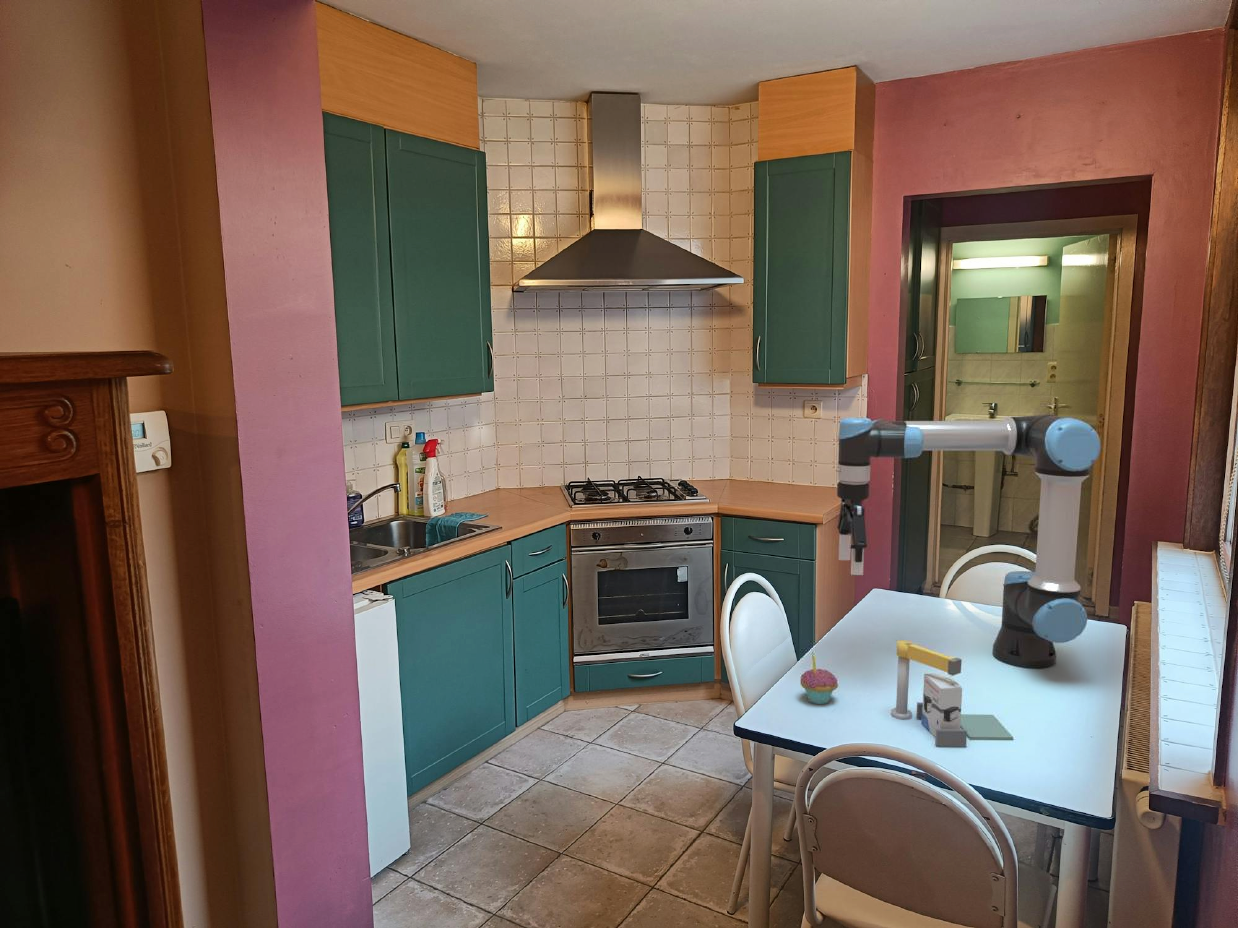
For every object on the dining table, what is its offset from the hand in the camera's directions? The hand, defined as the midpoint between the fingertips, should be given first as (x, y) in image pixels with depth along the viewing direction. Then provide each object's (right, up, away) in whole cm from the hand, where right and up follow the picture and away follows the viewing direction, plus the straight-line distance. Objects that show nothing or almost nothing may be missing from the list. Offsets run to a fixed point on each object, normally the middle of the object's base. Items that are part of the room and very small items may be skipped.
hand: (850, 567), depth 213 cm
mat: (+22, -32, -25) cm, 46 cm away
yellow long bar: (+10, -18, -25) cm, 33 cm away
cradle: (+10, -32, -25) cm, 42 cm away
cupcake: (-10, -30, -10) cm, 33 cm away
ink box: (+12, -32, -27) cm, 44 cm away
